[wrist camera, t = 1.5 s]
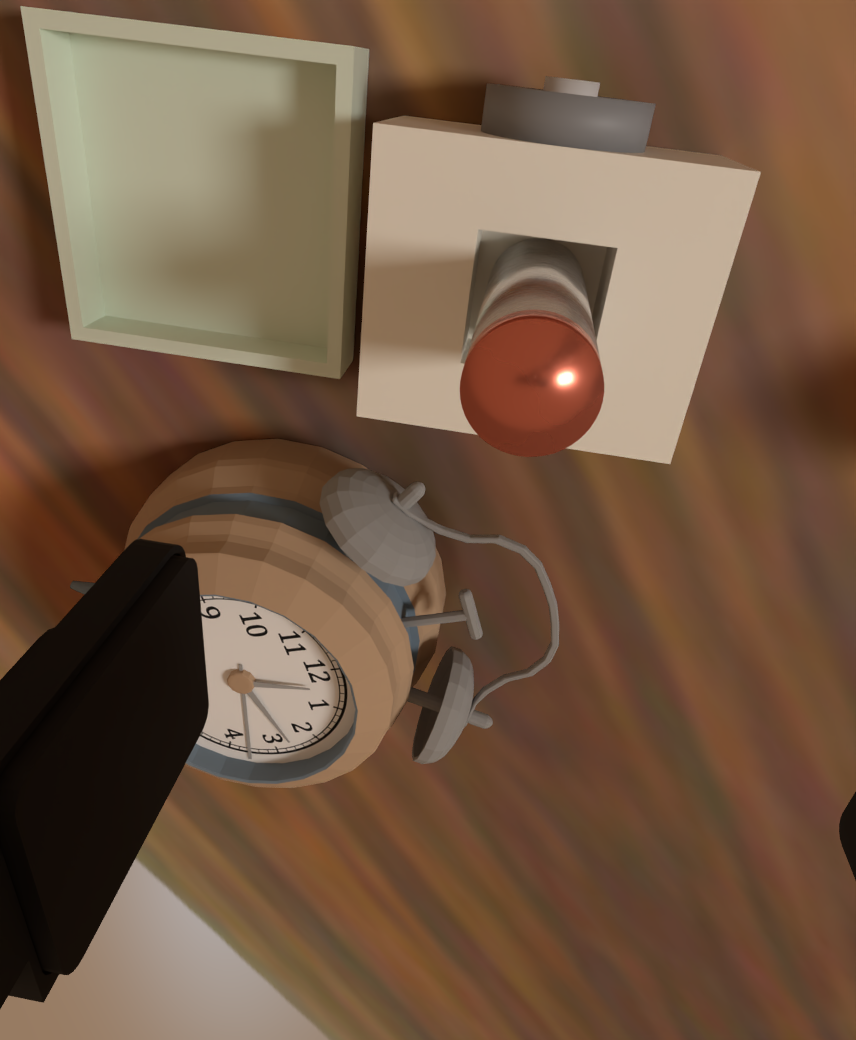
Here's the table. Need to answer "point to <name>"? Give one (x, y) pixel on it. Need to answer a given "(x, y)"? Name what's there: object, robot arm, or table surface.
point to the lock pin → (533, 354)
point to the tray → (203, 187)
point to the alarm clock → (317, 610)
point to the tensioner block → (557, 216)
